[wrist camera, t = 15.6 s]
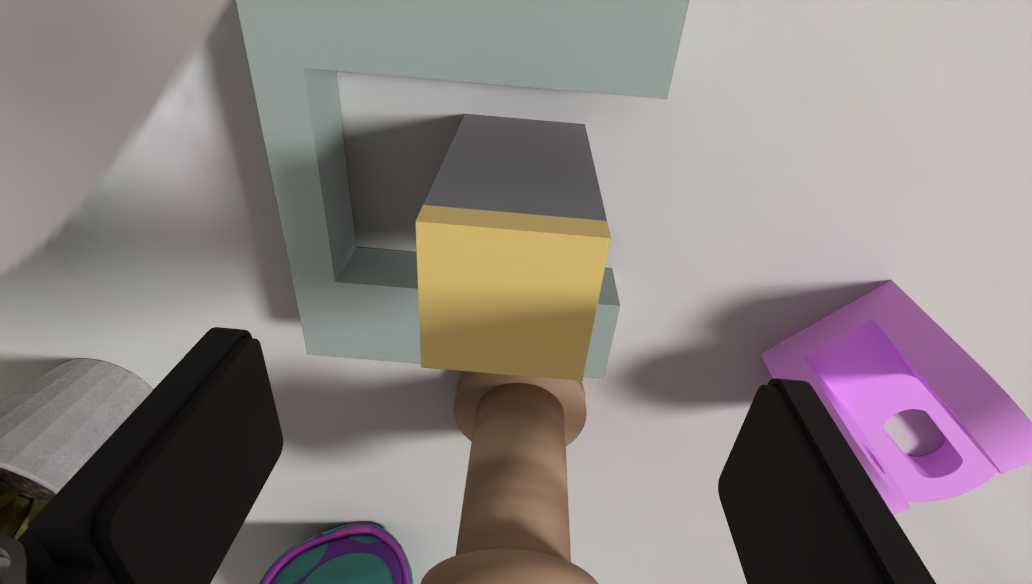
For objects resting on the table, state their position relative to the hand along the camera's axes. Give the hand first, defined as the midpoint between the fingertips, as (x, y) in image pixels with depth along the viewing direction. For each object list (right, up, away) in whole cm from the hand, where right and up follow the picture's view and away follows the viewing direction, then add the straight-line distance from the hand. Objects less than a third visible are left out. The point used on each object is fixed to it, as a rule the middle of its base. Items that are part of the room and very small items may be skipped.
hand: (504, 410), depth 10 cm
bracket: (+17, -3, +14) cm, 22 cm away
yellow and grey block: (0, +6, +8) cm, 11 cm away
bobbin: (0, -3, +14) cm, 15 cm away
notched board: (-1, +6, +8) cm, 11 cm away
